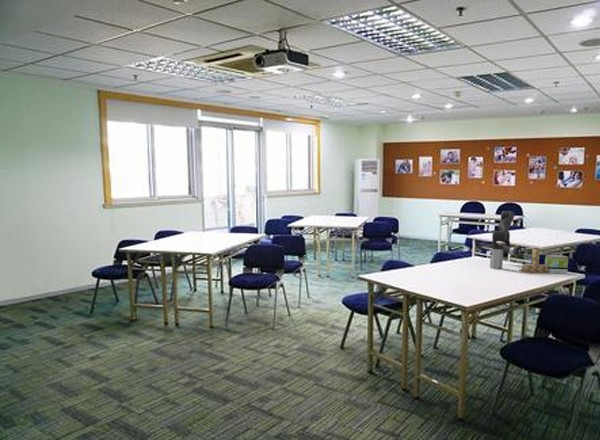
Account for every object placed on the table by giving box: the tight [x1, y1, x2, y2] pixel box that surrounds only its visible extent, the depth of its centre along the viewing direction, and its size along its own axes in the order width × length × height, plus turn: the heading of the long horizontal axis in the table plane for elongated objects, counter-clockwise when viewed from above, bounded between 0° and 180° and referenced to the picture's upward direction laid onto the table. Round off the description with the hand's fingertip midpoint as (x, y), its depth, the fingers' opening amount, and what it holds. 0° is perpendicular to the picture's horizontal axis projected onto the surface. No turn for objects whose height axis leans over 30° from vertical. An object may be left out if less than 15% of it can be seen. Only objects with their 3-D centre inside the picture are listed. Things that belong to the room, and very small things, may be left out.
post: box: [530, 248, 541, 265], centre depth 394 cm, size 4×4×14 cm
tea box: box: [544, 254, 569, 274], centre depth 396 cm, size 15×10×15 cm, turn 97°
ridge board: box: [519, 263, 551, 274], centre depth 394 cm, size 20×13×6 cm, turn 100°
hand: (527, 253), depth 404 cm, fingers open, 8 cm apart
